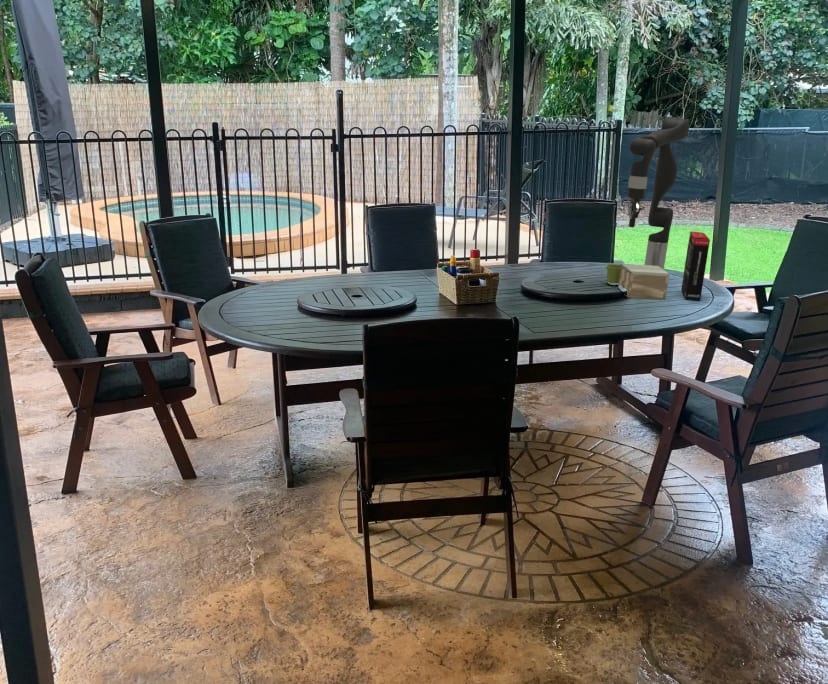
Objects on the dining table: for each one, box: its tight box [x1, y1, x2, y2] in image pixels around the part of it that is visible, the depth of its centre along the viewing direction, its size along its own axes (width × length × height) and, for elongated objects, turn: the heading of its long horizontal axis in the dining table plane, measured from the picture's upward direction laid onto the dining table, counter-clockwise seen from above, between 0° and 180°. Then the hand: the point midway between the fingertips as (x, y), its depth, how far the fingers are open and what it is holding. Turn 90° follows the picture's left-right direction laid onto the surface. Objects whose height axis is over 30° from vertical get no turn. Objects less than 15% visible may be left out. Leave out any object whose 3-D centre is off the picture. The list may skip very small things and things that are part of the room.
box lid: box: [619, 263, 670, 277], centre depth 334 cm, size 16×17×1 cm
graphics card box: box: [681, 230, 711, 301], centre depth 335 cm, size 17×7×27 cm, turn 168°
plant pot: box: [605, 263, 621, 283], centre depth 350 cm, size 9×9×9 cm
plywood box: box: [619, 267, 670, 300], centre depth 336 cm, size 16×16×10 cm
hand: (631, 226), depth 335 cm, fingers closed
